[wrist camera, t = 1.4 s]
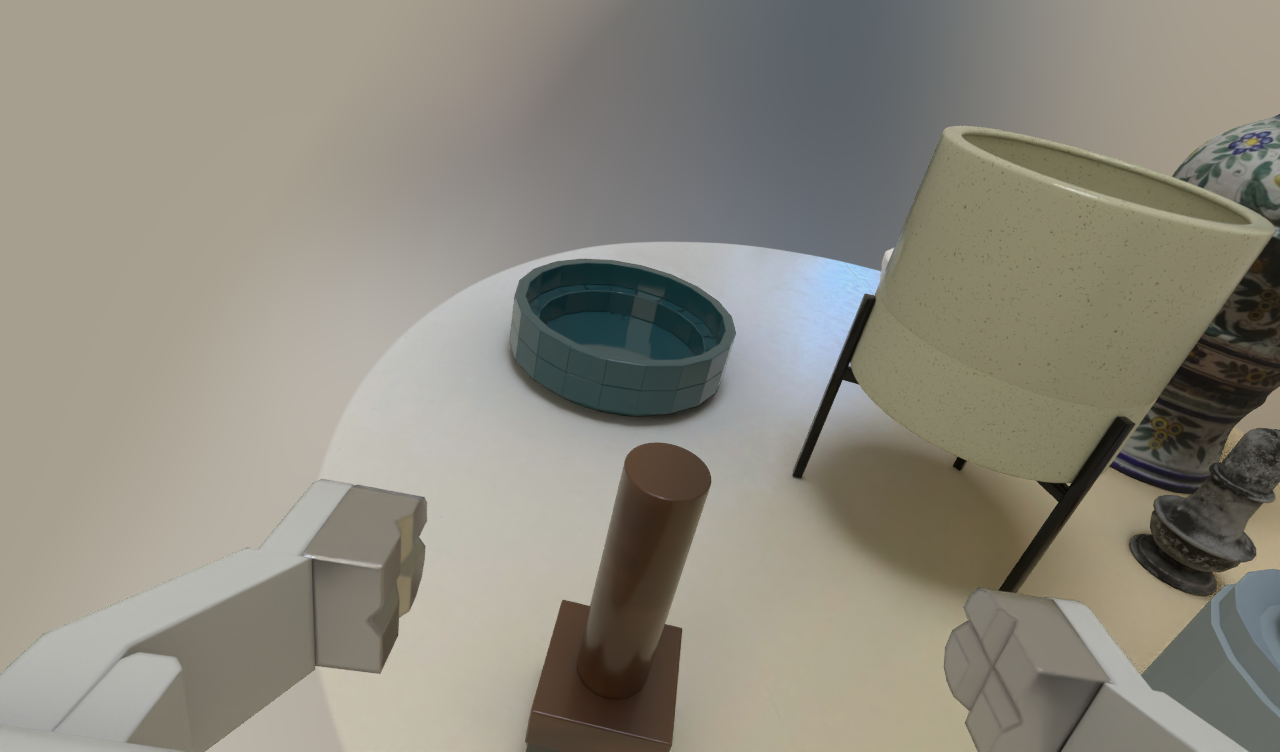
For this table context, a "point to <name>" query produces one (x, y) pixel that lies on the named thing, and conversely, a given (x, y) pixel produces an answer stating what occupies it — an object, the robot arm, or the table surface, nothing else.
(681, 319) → the dish
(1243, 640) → the spray bottle
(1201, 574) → the salt shaker
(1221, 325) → the vase
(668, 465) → the post on square base
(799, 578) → the table surface
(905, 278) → the planter
